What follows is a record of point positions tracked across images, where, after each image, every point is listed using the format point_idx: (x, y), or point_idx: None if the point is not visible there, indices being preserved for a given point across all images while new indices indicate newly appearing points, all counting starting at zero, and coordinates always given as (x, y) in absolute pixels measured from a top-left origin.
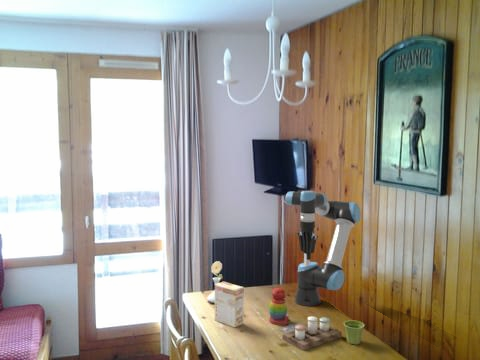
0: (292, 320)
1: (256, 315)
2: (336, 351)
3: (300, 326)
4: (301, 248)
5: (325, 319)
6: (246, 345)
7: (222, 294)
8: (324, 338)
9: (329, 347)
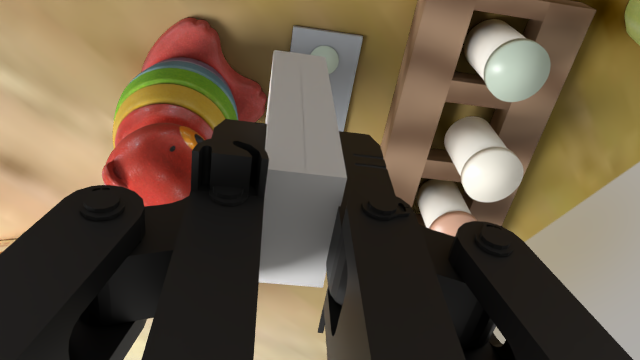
0: (237, 20)
1: (48, 119)
2: (607, 149)
3: (454, 233)
4: (103, 356)
5: (525, 71)
6: (296, 330)
7: None
8: (539, 134)
9: (567, 141)
